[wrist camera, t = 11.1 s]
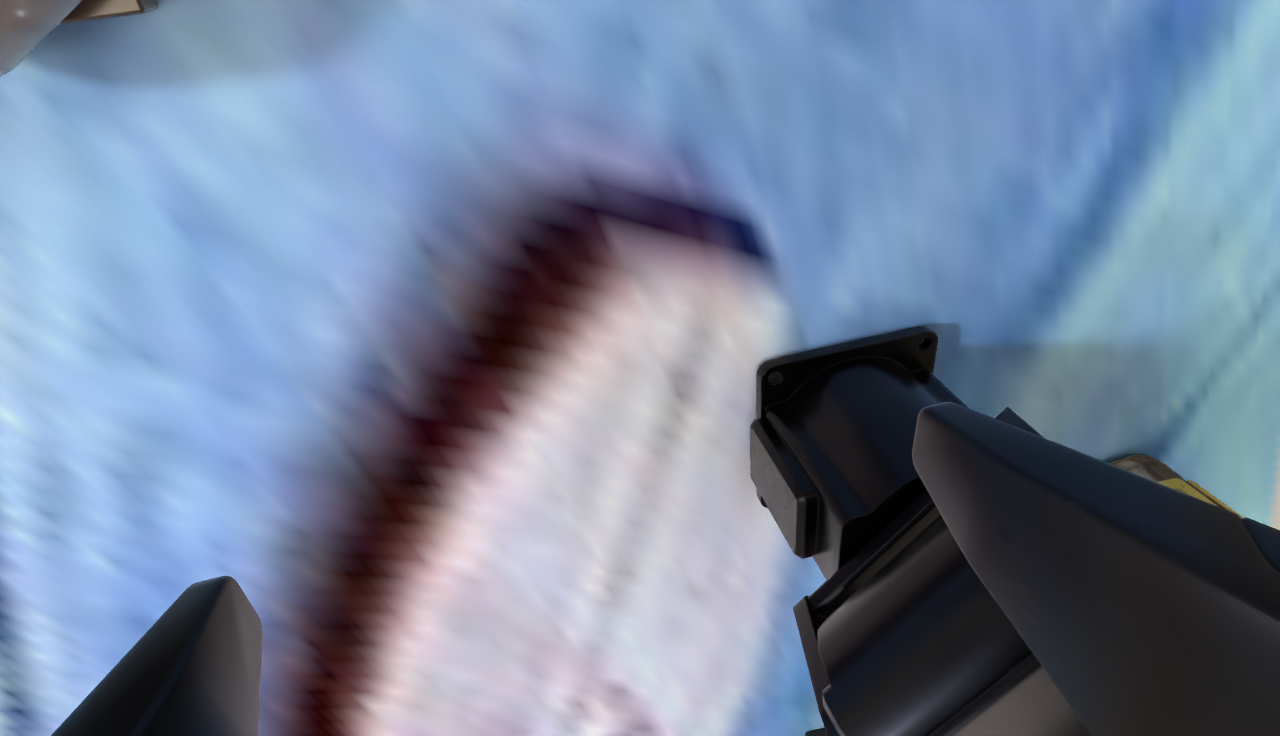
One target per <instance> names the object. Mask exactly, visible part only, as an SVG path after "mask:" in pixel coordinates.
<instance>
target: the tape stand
mask: <svg viewBox="0 0 1280 736" xmlns="http://www.w3.org/2000/svg"><path fill="white" fill-rule="evenodd" d="M156 8H158V3H157V0H82V1H81V2H80V3H79V4H78V5H77V6H76V7H75V8H74V9H73V10H72V11H71V12H70V13H69V14H68V15H67V16H66V17H65V18H64V19H63V20H62V21H61V22H60V23H59V24H63V23H71V22H79V21H87V20H95V19H102V18H110V17H118V16H126V15H134V14H142V13H145V12H148V11H151V10H154V9H156Z"/></svg>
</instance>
